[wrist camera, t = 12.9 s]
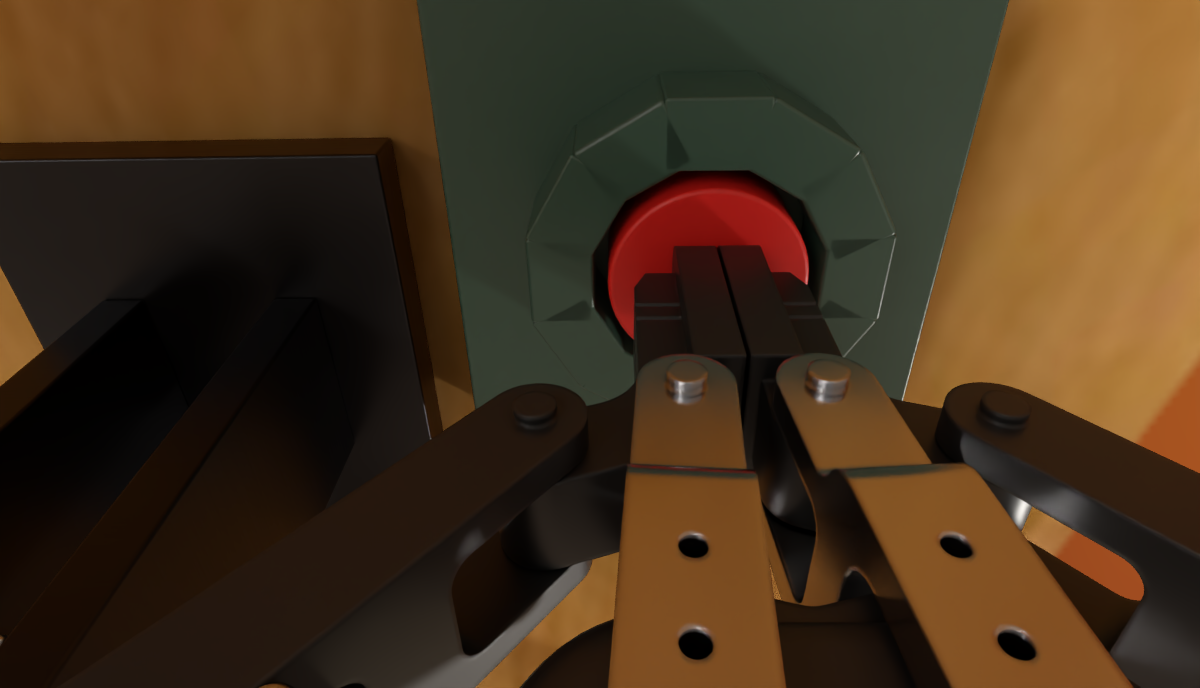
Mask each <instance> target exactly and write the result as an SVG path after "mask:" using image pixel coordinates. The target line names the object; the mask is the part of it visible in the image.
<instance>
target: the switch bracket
mask: <svg viewBox="0 0 1200 688" xmlns="http://www.w3.org/2000/svg"><path fill="white" fill-rule="evenodd" d="M0 266H1V268H2V270H3V272H4V274H5V276H6V278H7V280H8V282H9V283H10V285H11V287H12V289H13V291H14V293H15V295H16V297H17V299H18V301H19V302H20V304H21V306H22V308H23V310H24V312H25V314H26V316H27V318H28V320H29V321H30V323H31V325H32V327H33V329H34V331H35V333H36V335H37V337H38V339H39V340H40V342H41V344H42V346H43V348H44V350H43V351H42V352H41V353H40V354H38V355H37V356H36V357H35V358H34V359H32V360H31V361H30V362H29V363H28V364H27V365H25V366H24V367H23V368H22V369H21V370H19V371H18V372H17V373H16V374H15V375H13V376H12V377H11V378H10V379H9V380H7V381H6V382H5V383H4V384H3V385H2V386H0V635H8V637H7V638H6V639H5V640H4V642H3V643H2V644H1V645H0V688H57V687H59V686H60V685H62V684H63V683H65V682H66V681H68V680H69V679H71V678H72V677H74V676H75V675H77V674H78V673H80V672H81V671H83V670H84V669H86V668H87V667H89V666H90V665H92V664H93V663H95V662H96V661H98V660H99V659H101V658H102V657H104V656H105V655H107V654H108V653H110V652H111V651H113V650H114V649H116V648H117V647H119V646H120V645H122V644H123V643H125V642H126V641H128V640H129V639H131V638H132V637H134V636H135V635H137V634H138V633H140V632H141V631H143V630H144V629H146V628H147V627H149V626H150V625H152V624H153V623H155V622H156V621H158V620H159V619H161V618H163V617H164V616H166V615H167V614H169V613H170V612H172V611H173V610H175V609H176V608H178V607H179V606H181V605H182V604H184V603H185V602H187V601H188V600H190V599H191V598H193V597H194V596H196V595H197V594H199V593H200V592H202V591H203V590H205V589H206V588H208V587H209V586H211V585H212V584H214V583H215V582H217V581H218V580H220V579H221V578H223V577H224V576H226V575H227V574H229V573H230V572H232V571H233V570H235V569H236V568H238V567H239V566H241V565H242V564H244V563H245V562H247V561H248V560H250V559H251V558H253V557H254V556H256V555H257V554H259V553H260V552H262V551H263V550H265V549H266V548H268V547H269V546H271V545H272V544H274V543H276V542H277V541H279V540H280V539H282V538H283V537H285V536H286V535H288V534H289V533H291V532H292V531H294V530H295V529H297V528H298V527H300V526H301V525H303V524H304V523H306V522H307V521H309V520H310V519H312V518H313V517H315V516H316V515H318V514H319V513H321V512H322V511H324V510H325V509H327V508H328V507H330V506H331V505H333V504H334V503H336V502H337V501H339V500H340V499H342V498H343V497H345V496H346V495H348V494H349V493H351V492H352V491H354V490H355V489H357V488H358V487H360V486H361V485H363V484H364V483H366V482H367V481H369V480H370V479H372V478H373V477H375V476H376V475H378V474H379V473H381V472H382V471H384V470H386V469H387V468H389V467H390V466H392V465H393V464H395V463H396V462H398V461H399V460H401V459H402V458H404V457H405V456H407V455H408V454H410V453H411V452H413V451H414V450H416V449H417V448H419V447H420V446H422V445H423V444H425V443H426V442H428V441H429V440H431V439H432V438H434V437H435V436H437V435H438V434H440V433H441V432H443V428H442V422H441V417H440V411H439V406H438V400H437V394H436V389H435V383H434V377H433V372H432V366H431V361H430V355H429V349H428V344H427V338H426V333H425V327H424V321H423V316H422V310H421V304H420V299H419V293H418V288H417V282H416V276H415V271H414V265H413V259H412V254H411V248H410V243H409V237H408V231H407V226H406V220H405V214H404V209H403V203H402V198H401V192H400V186H399V181H398V175H397V170H396V164H395V158H394V153H393V147H392V141H391V139H390V138H335V139H267V140H199V141H131V142H63V143H0Z"/></svg>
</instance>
